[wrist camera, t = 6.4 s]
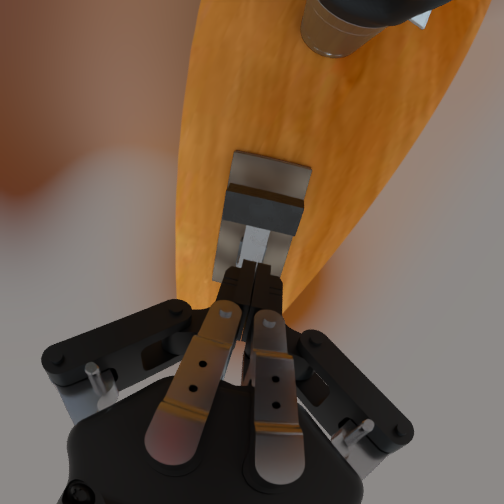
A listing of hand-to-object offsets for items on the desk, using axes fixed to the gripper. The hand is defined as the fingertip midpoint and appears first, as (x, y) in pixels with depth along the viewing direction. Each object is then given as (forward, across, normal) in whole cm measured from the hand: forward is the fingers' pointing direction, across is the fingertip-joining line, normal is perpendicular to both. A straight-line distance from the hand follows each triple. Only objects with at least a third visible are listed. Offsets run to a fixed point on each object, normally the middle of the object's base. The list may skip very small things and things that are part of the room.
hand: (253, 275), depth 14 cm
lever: (+23, 0, +11) cm, 26 cm away
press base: (+31, 0, +11) cm, 33 cm away
